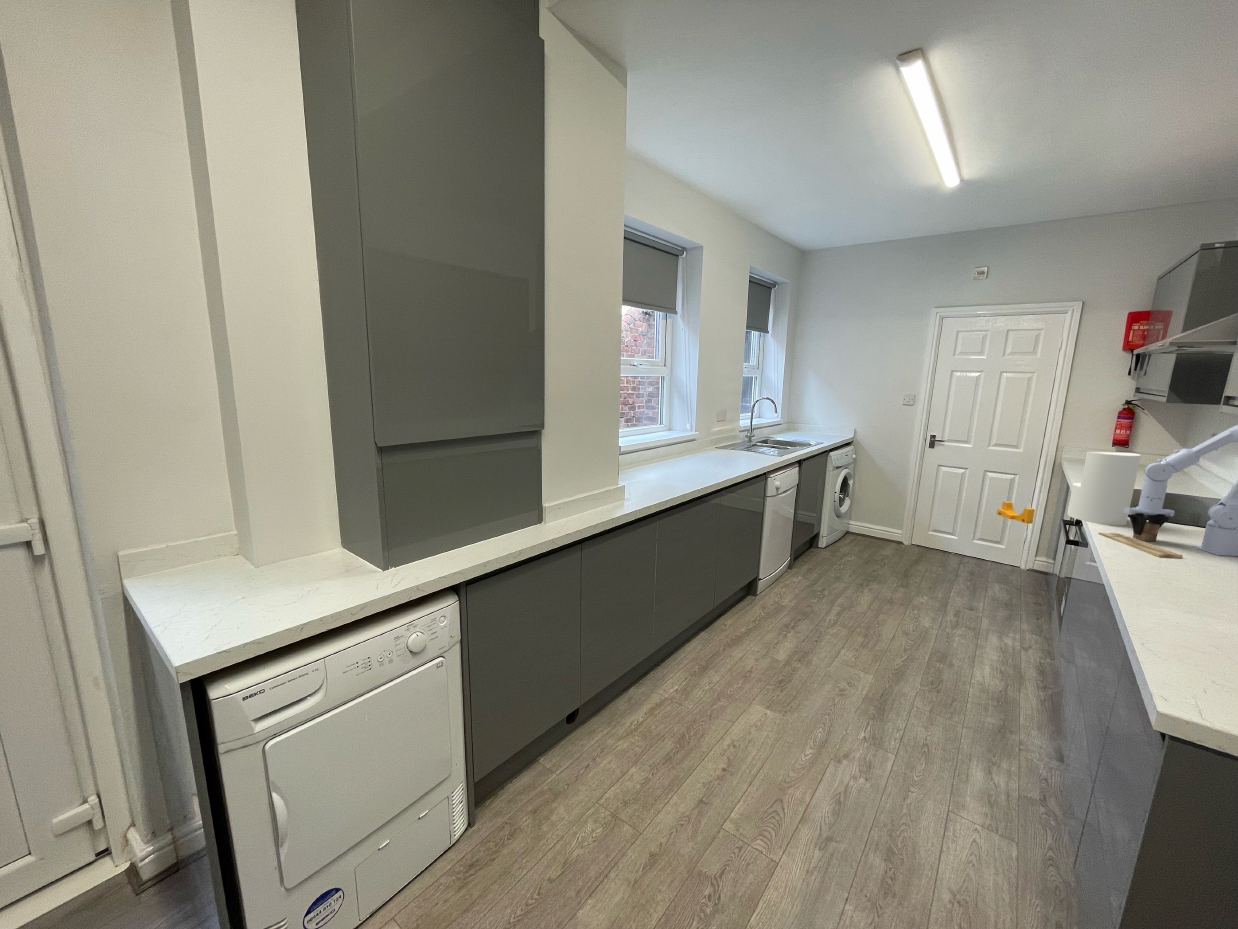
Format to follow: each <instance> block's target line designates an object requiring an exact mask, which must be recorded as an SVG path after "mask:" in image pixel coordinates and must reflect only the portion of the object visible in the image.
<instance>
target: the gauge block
mask: <svg viewBox="0 0 1238 929" xmlns="http://www.w3.org/2000/svg"><path fill="white" fill-rule="evenodd" d="M1159 530H1160V528H1159V525H1158V524H1154V523H1151V522H1148V521H1147V522H1146V523H1145V525H1144V528H1143V531H1142V534H1141V535H1137V534H1134V533H1133V532H1132V533H1133V535H1132V538H1134V539H1137V540H1140V541H1143V542H1153V543H1154V542H1157V537H1158V534H1159Z"/></svg>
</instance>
